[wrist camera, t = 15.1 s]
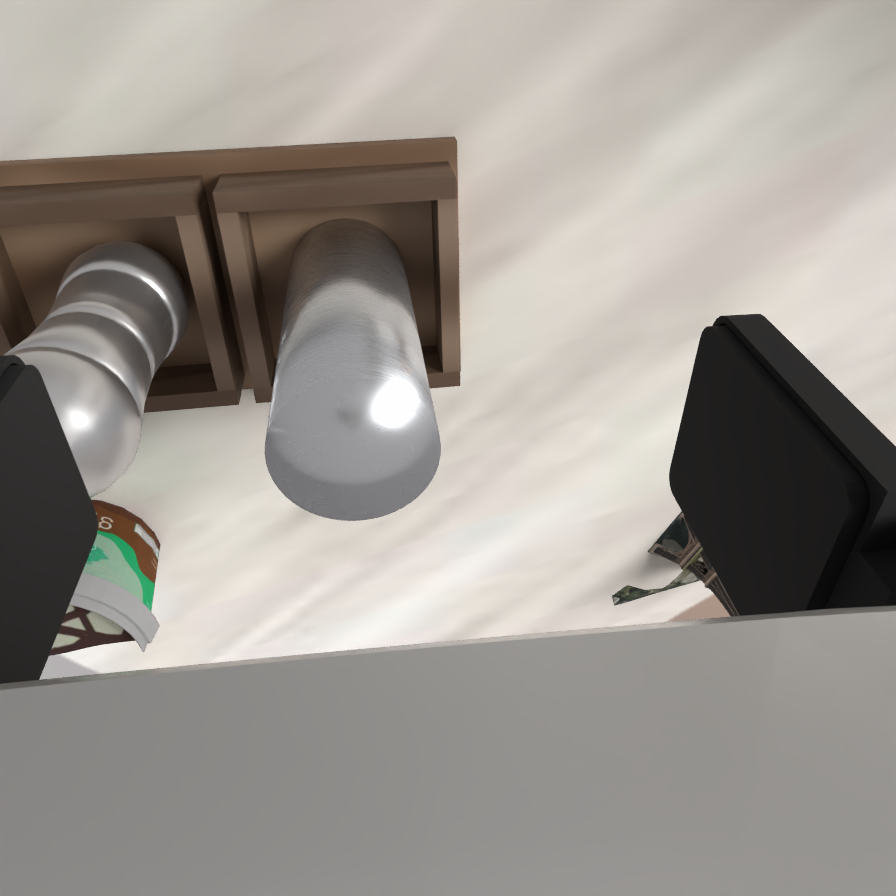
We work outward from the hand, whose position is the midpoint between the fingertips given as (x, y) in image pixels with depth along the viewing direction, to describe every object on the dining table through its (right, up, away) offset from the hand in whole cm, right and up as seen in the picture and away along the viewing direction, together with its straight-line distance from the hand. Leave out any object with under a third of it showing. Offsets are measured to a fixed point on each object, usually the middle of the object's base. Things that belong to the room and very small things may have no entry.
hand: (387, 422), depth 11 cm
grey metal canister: (-5, +10, +31) cm, 33 cm away
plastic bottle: (-17, +9, +30) cm, 36 cm away
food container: (-25, -5, +40) cm, 48 cm away
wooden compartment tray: (-12, +10, +32) cm, 35 cm away
